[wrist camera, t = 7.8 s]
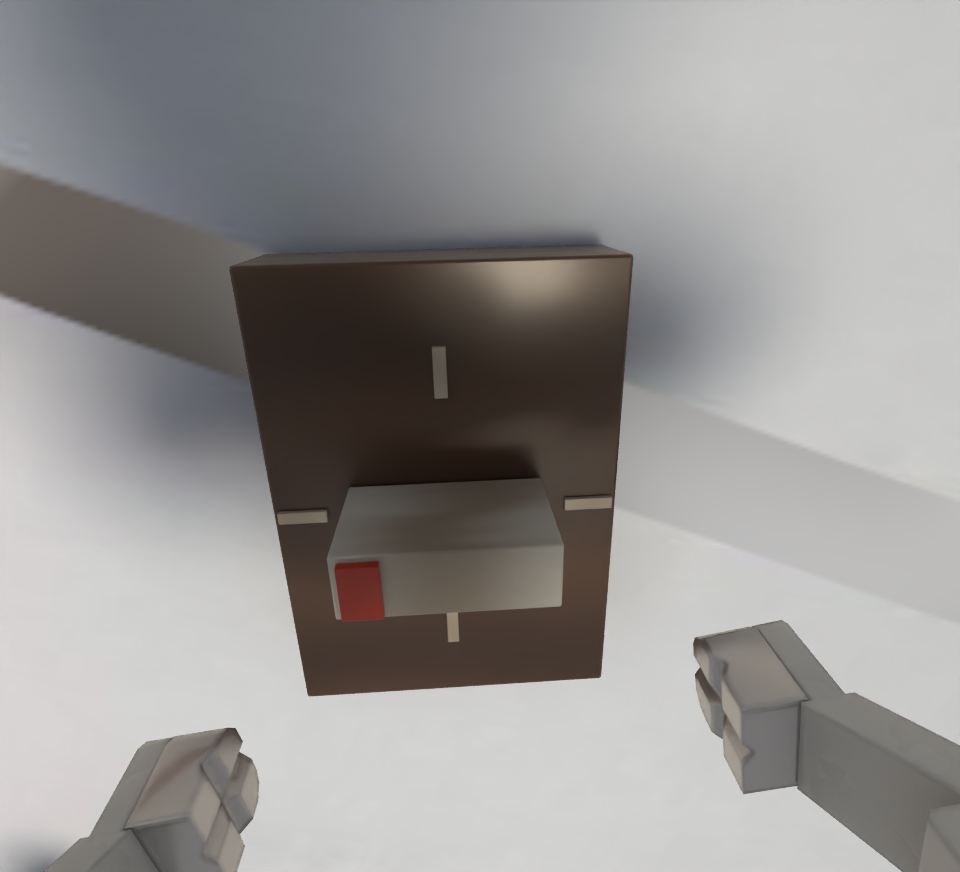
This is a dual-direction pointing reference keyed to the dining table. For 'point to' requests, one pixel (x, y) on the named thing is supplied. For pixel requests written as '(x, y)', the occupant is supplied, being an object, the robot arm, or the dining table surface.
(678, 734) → the dining table surface
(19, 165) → the dining table surface
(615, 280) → the dial panel
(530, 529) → the dial knob
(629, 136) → the dining table surface
